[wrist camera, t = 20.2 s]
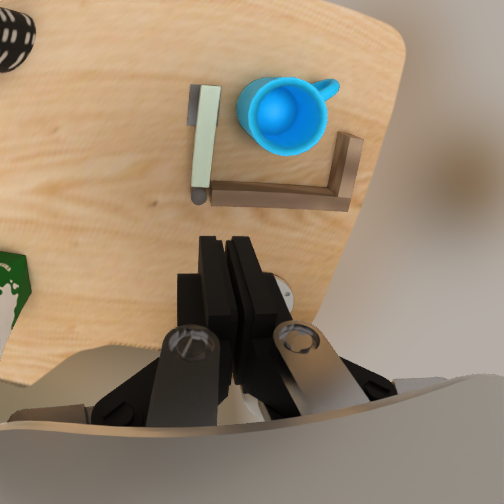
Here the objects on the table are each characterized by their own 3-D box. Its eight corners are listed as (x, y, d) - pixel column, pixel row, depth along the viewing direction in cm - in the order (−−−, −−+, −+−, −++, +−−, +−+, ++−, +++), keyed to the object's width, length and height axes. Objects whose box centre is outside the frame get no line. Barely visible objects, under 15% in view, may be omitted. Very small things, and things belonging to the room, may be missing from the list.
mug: (257, 152, 38) (273, 170, 31) (223, 98, 34) (232, 102, 27) (336, 108, 37) (368, 117, 30) (308, 53, 32) (336, 49, 26)
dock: (337, 201, 44) (347, 211, 41) (183, 195, 39) (183, 205, 36) (356, 106, 37) (369, 109, 34) (190, 84, 32) (190, 84, 29)
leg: (207, 178, 38) (208, 187, 35) (191, 177, 38) (191, 186, 35) (218, 86, 33) (220, 86, 30) (200, 84, 32) (201, 85, 29)
